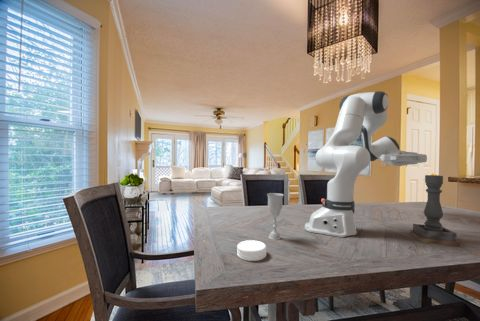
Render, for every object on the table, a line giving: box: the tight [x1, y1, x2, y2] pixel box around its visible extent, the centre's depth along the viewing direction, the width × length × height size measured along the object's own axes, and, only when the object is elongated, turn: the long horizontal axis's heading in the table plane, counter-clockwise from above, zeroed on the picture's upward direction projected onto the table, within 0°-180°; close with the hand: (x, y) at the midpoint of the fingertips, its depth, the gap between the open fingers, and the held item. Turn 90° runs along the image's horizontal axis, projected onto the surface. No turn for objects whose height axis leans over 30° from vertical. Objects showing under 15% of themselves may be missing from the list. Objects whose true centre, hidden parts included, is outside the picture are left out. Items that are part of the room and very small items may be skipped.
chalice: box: [266, 192, 284, 241], centre depth 93 cm, size 7×7×18 cm
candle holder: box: [423, 174, 444, 232], centre depth 93 cm, size 6×6×25 cm
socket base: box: [409, 223, 461, 247], centre depth 93 cm, size 12×12×4 cm
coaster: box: [236, 239, 267, 262], centre depth 76 cm, size 10×10×4 cm
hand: (408, 158), depth 113 cm, fingers open, 8 cm apart
